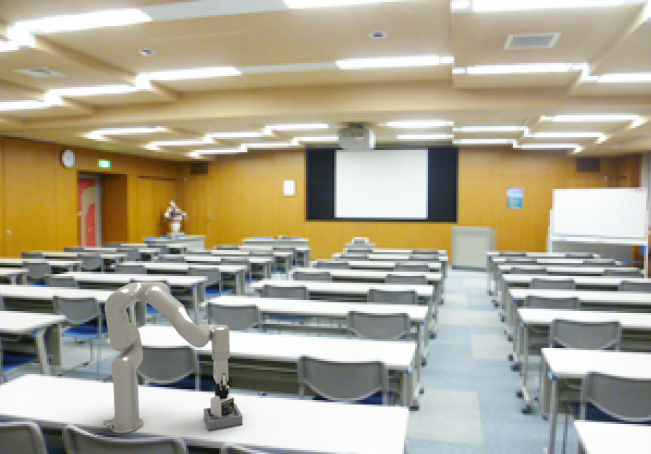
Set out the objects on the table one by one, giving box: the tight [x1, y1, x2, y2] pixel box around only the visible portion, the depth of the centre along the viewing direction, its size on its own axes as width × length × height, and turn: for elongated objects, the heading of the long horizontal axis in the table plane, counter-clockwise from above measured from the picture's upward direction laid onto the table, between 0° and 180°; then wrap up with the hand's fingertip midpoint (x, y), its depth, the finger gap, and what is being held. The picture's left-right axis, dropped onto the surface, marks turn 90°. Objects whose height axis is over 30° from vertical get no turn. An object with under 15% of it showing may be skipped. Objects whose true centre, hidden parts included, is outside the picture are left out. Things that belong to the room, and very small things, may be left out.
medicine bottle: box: [210, 385, 235, 418], centre depth 205 cm, size 7×7×12 cm
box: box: [203, 402, 243, 433], centre depth 205 cm, size 14×14×4 cm
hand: (222, 395), depth 204 cm, fingers closed on medicine bottle, 6 cm apart
